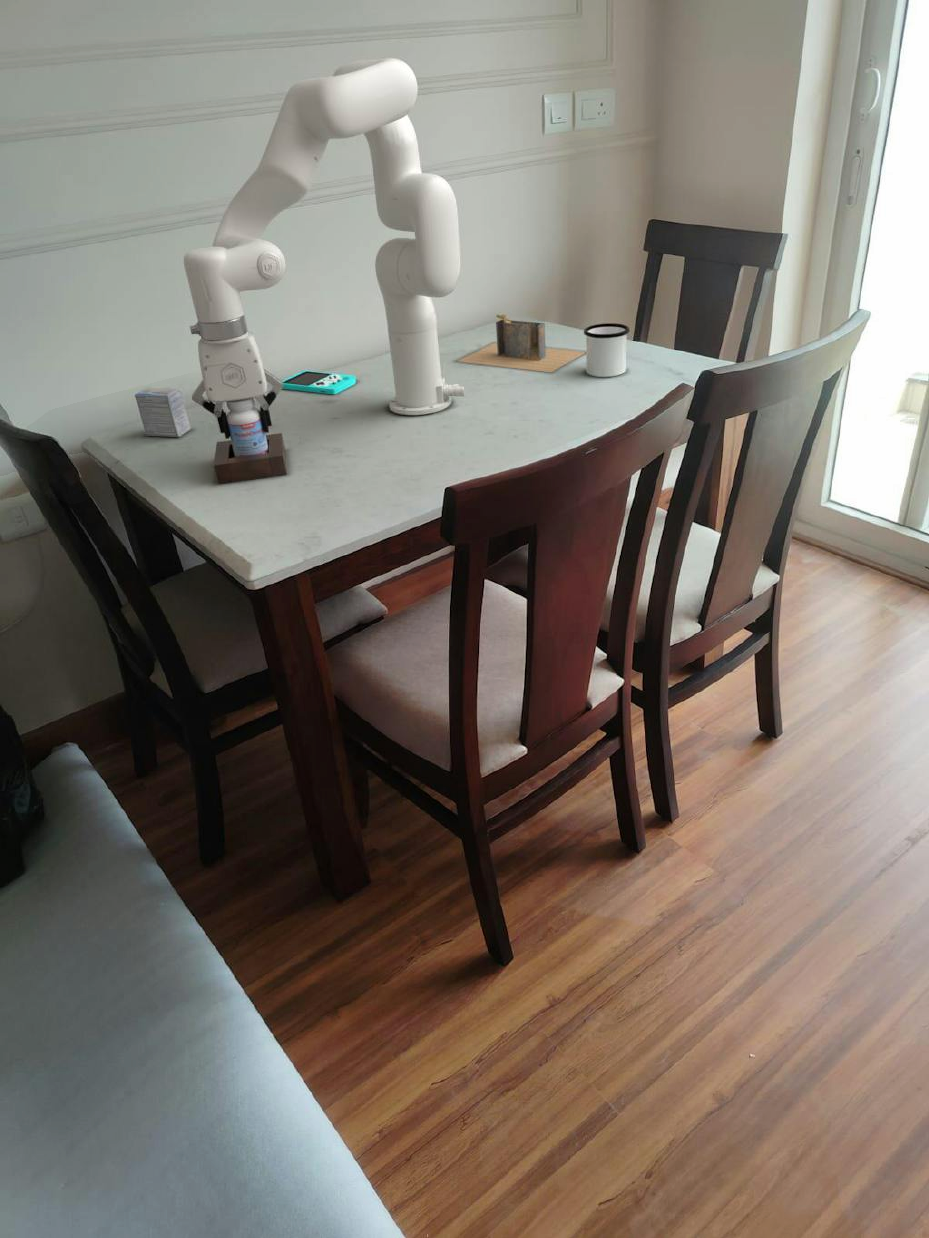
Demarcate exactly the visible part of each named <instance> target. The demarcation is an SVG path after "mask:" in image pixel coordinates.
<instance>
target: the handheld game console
mask: <svg viewBox="0 0 929 1238" xmlns="http://www.w3.org/2000/svg"><path fill="white" fill-rule="evenodd" d="M281 381H282V382H283V388H282V389H281V390H291V391H300V392H309V393H315V394H316V393H317V394H318V393H319V394H326V395H327V394H328V395H337V394H339V393H340V392H343V391H345V390H346V389H349V388H350V387H353V386H354V385H355V384H356V382H357V381H356V376H355V375H353V374H344V373H333V372H332V373H331V372H324V371H314V370H302V371H300V372H298V373H296V374H294V375H292V376H289V377H287V378H285V379H283V380H281Z"/></svg>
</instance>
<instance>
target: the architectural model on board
mask: <svg viewBox="0 0 929 1238" xmlns="http://www.w3.org/2000/svg"><path fill="white" fill-rule="evenodd" d="M495 317H496V318H498V319H500V320H497V321H496V322H495V331H496V342H494V343H492V344H489V345H487V346H486V347H483V348H481V349H478V350H477V351H475V352H473V353H470V354H469V355H467V356H465V357H463V358H461V359H458V360H457V362H458V363H467V364H474V365H475V364H477V365H483V366H484V365H485V366H493V367H500V368H501V367H502V368H508V369H519V370H526V371H527V370H528V371H534V372H535V371H536V372H544V373H553V372H555V371H557V370H558V369H560V368H561V367H563V366H565V365H567V364H569V363H570V362H572V361H574V360H575V359H577V358H579V357H581V356H583V355H584V354H587V351H580V350H569V349H559V348H550V347H546V324H545V322H537V321H525V320H515V319H509V318H507V316H506V314H504V313H501V314H499V313H495Z"/></svg>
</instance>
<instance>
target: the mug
mask: <svg viewBox="0 0 929 1238" xmlns="http://www.w3.org/2000/svg"><path fill="white" fill-rule="evenodd" d="M629 333H630V326H628V325H627V324H623V323H617V322H616V323H615V322H606V323H605V322H604V323H603V322H602V323H597V324H591V325H588V326H587V327H585V328H584V329H583V335H584V336H585V337H586V343H585V344H586V373H587V375H589V376H592V377H595V378H613V377H618V376H621V375H623V374H625V372H626V371H627V340H628V339H627V337H628V336H627V335H628V334H629Z"/></svg>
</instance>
